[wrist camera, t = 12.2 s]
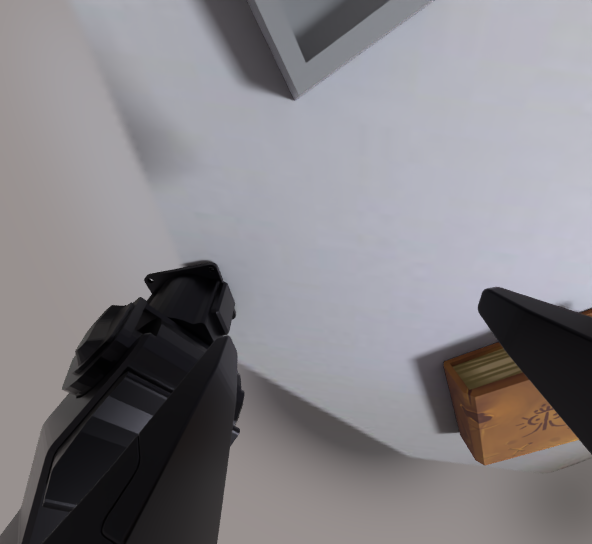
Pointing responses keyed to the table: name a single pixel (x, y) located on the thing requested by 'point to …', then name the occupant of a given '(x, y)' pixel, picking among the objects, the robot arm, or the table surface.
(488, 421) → the diary
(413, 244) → the table surface
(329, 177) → the table surface
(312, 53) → the tray
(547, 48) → the table surface
